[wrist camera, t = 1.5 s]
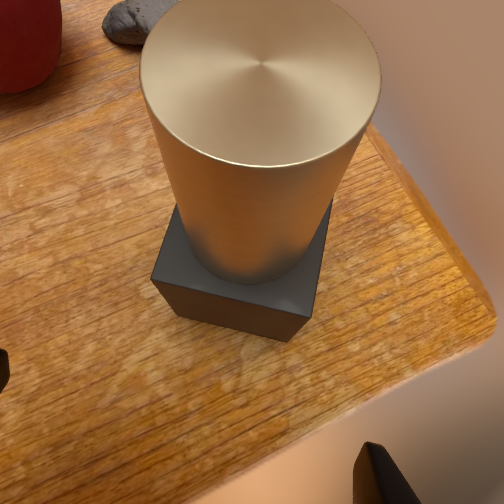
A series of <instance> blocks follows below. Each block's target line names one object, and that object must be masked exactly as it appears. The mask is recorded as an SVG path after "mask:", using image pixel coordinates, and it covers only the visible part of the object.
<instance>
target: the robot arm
mask: <svg viewBox="0 0 504 504" xmlns="http://www.w3.org/2000/svg"><path fill="white" fill-rule="evenodd" d="M9 377H10V369H9V359H8V353H7V351H6V350H4V349H0V393H1V392H2V390H3V389H4V388H5V386H6V385H7V383H8V381H9ZM353 504H421V502H420V501H419V499H418V498H417V496H416V495H415V493H414V492H413V490H412V489H411V487H410V485H409V484H408V482H407V481H406V479H405V478H404V476H403V475H402V473H401V472H400V470H399V469H398V467H397V466H396V464H395V463H394V461H393V460H392V458H391V456H390V455H389V453H388V452H387V451H386V449H385V448H384V447H383V446H382V445H380V444H376V443H372V442H365V443H364V444H363V447H362V448H361V451H360V453H359V455H358V457H357V459H356V462H355V464H354V469H353Z"/></svg>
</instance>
